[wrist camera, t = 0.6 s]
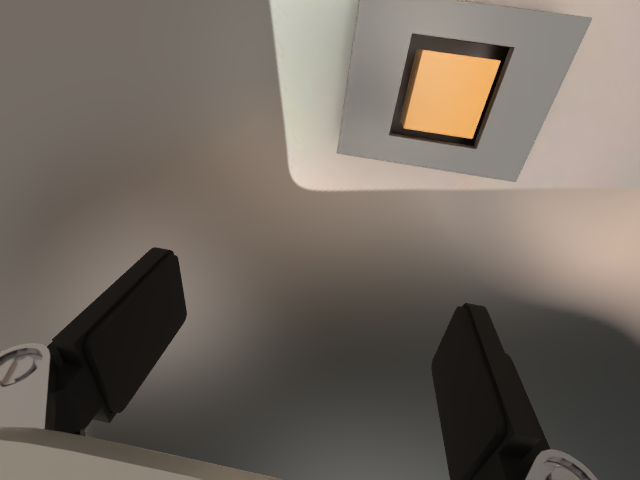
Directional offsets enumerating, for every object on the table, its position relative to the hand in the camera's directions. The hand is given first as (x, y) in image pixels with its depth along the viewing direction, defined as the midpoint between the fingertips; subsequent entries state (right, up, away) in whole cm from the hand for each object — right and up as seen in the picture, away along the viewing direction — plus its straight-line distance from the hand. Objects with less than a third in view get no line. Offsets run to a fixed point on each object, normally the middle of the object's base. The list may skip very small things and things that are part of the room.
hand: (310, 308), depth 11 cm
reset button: (+11, +16, +18) cm, 26 cm away
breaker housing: (+11, +17, +20) cm, 28 cm away
